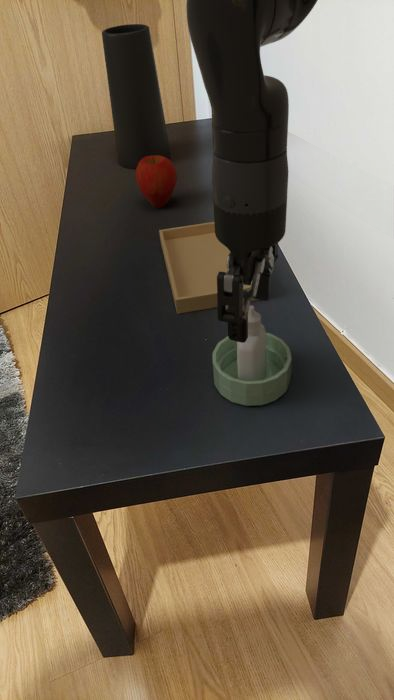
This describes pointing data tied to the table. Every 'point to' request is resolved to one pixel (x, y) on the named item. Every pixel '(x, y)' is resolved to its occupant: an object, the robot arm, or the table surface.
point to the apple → (156, 179)
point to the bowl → (252, 390)
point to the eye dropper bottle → (252, 350)
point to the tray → (194, 265)
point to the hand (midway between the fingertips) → (250, 317)
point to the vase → (134, 94)
